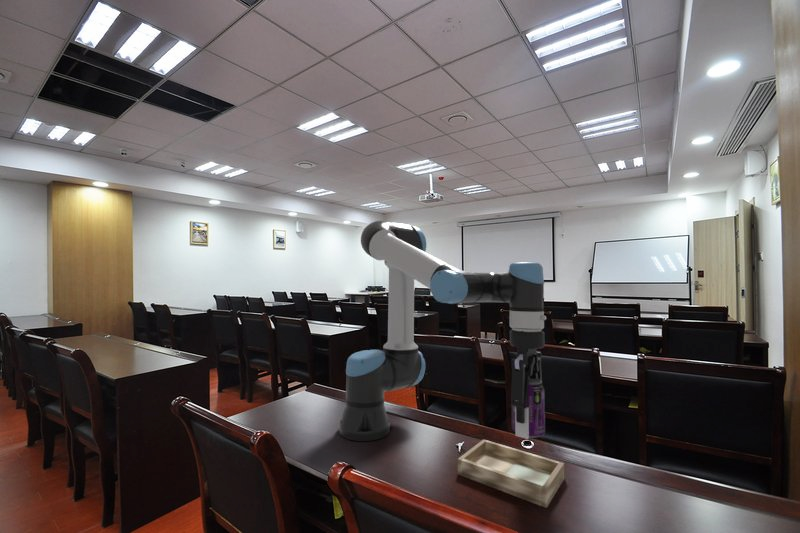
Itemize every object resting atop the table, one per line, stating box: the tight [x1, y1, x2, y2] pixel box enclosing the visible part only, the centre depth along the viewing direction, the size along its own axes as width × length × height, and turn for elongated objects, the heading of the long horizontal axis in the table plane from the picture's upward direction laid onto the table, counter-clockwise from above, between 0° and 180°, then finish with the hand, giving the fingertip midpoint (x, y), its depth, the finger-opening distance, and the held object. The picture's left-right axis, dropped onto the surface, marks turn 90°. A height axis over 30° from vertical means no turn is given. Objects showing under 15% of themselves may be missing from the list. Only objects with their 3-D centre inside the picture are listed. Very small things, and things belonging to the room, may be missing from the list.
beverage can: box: [511, 378, 546, 439], centre depth 81 cm, size 7×7×12 cm
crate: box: [457, 439, 565, 509], centre depth 82 cm, size 20×14×4 cm
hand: (528, 431), depth 80 cm, fingers closed on beverage can, 7 cm apart
